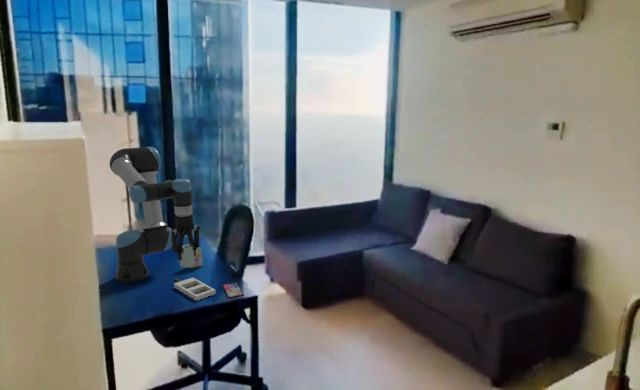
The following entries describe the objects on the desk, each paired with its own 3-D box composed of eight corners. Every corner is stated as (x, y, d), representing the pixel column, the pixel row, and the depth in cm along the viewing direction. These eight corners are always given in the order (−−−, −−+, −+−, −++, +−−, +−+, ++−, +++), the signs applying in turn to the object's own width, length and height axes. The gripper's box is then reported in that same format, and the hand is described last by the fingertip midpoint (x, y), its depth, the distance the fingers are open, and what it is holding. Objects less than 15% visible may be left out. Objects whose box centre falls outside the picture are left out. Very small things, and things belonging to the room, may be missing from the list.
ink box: (189, 268, 238) (188, 244, 235) (187, 266, 242) (186, 242, 239) (202, 266, 242) (201, 242, 239) (200, 264, 245) (199, 240, 242)
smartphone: (227, 297, 205) (221, 284, 218) (228, 299, 205) (221, 286, 218) (244, 294, 207) (237, 282, 221) (244, 296, 208) (237, 283, 221)
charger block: (180, 265, 203) (179, 246, 201) (189, 263, 206) (188, 244, 204) (185, 267, 200) (183, 248, 198) (193, 265, 203) (192, 246, 201)
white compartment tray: (165, 282, 221) (165, 278, 221) (184, 276, 228) (184, 272, 228) (196, 301, 202) (196, 296, 201) (215, 294, 209) (215, 289, 208)
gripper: (168, 219, 189) (173, 272, 194) (205, 212, 201) (208, 262, 206) (161, 216, 195) (165, 267, 200) (197, 209, 206) (200, 258, 211)
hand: (187, 264), depth 203 cm, fingers closed on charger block, 4 cm apart
